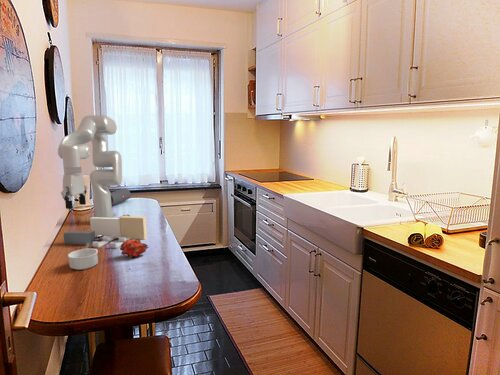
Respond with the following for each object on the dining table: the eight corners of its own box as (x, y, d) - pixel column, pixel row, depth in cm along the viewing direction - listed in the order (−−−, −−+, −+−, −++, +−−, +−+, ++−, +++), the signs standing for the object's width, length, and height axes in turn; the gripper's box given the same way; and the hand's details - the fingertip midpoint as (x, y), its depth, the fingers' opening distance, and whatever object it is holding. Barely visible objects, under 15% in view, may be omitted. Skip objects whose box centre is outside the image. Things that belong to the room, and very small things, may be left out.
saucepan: (103, 253, 168) (102, 241, 167) (97, 269, 149) (95, 256, 148) (75, 256, 165) (74, 243, 164) (65, 273, 146) (64, 259, 145)
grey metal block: (69, 242, 185) (68, 230, 184) (95, 242, 183) (94, 231, 182) (64, 244, 181) (63, 232, 180) (91, 245, 179) (90, 233, 178)
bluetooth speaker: (114, 207, 261) (113, 193, 259) (103, 207, 263) (101, 193, 261) (132, 201, 283) (131, 188, 281) (121, 200, 285) (120, 187, 283)
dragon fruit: (118, 260, 162) (147, 261, 165) (117, 254, 155) (147, 256, 158) (121, 241, 166) (148, 243, 169) (120, 235, 159) (149, 236, 162)
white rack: (94, 235, 195) (92, 215, 193) (147, 237, 189) (145, 216, 187) (72, 246, 178) (69, 223, 176) (129, 249, 172) (127, 226, 170)
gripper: (77, 169, 185) (80, 202, 188) (52, 173, 168) (56, 210, 171) (91, 169, 184) (94, 203, 186) (67, 173, 167) (71, 210, 169)
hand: (76, 206), depth 179 cm, fingers open, 9 cm apart
